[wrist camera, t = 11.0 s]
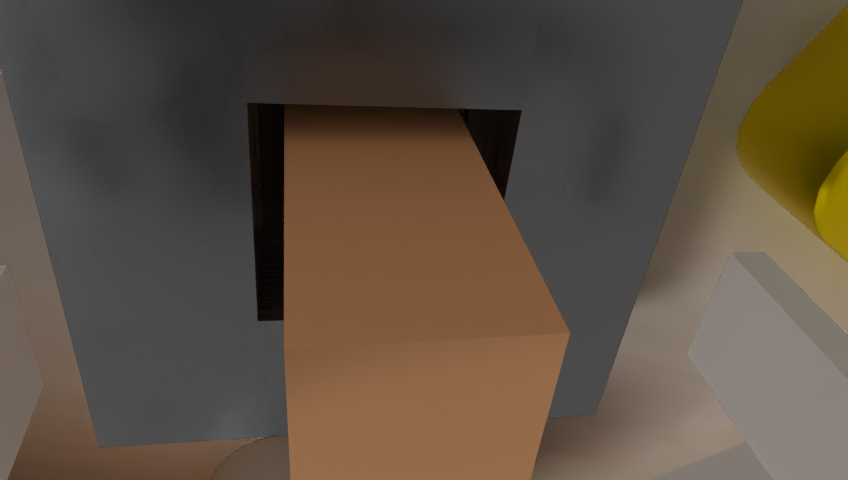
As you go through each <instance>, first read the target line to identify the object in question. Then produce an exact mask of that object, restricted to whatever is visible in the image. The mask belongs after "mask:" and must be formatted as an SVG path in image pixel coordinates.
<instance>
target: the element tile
mask: <svg viewBox="0 0 848 480" xmlns="http://www.w3.org/2000/svg"><path fill="white" fill-rule="evenodd" d="M736 148H737V152H738V155H739V159H740V162H741V166H742V167H743V168H744V170H745V171H746V173H747V174H748V175H749V177H750V178H751V179H752V180H754V181H755V182H756V183H757V184H758V185H759V186H760V187H761V188H763V189H764V190H765V191H766V192H767V193H768V194H769V195H771V196H772V197H773V198H774V199H775V200H776V201H777V202H779V203H780V204H781V205H782V206H783V207H784V208H785V209H786V210H788V211H789V212H790V213H791V214H792V215H793V216H794V217H796V218H797V219H798V220H799V221H800V222H801V223H802V224H804V225H805V226H806V227H807V228H808V229H809V230H810V231H811V232H813V233H814V234H815V235H816V236H817V237H818V238H819V239H821V240H822V241H823V242H824V243H825V244H827V245H828V246H829V247H830V248H831V249H833V250H834V251H835V252H836V253H837V254H839V255H840V256H841V257H842V258H843V259H845V260H846V261H847V262H848V5H847V6H846V7H845V8H844V9H843V10H842V11H841V12H840V13H839V14H838V15H837V16H836V17H835V18H834V19H833V20H832V21H831V22H830V23H829V24H828V25H827V26H826V27H825V28H824V29H823V30H822V31H821V32H820V33H819V34H818V35H817V36H816V37H815V38H814V39H813V40H812V41H811V42H810V43H809V44H808V45H807V46H806V47H805V48H804V49H803V50H802V51H801V52H800V53H799V54H798V55H797V56H796V57H795V58H794V59H793V60H792V61H791V62H790V63H789V64H788V65H787V66H786V67H785V68H784V69H783V70H782V71H781V72H780V73H779V74H778V75H777V76H776V77H775V78H774V79H773V80H772V81H771V82H770V83H769V84H768V85H767V86H766V87H765V89H764V90H763V91H762V92H761V94H760V95H759V96H758V98H757V99H756V100H755V101H754V103H753V104H752V105H751V107H750V109H749V111H748V113H747V115H746V116H745V118H744V120H743V122H742V124H741V126H740V128H739V134H738V140H737V146H736Z"/></svg>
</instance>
